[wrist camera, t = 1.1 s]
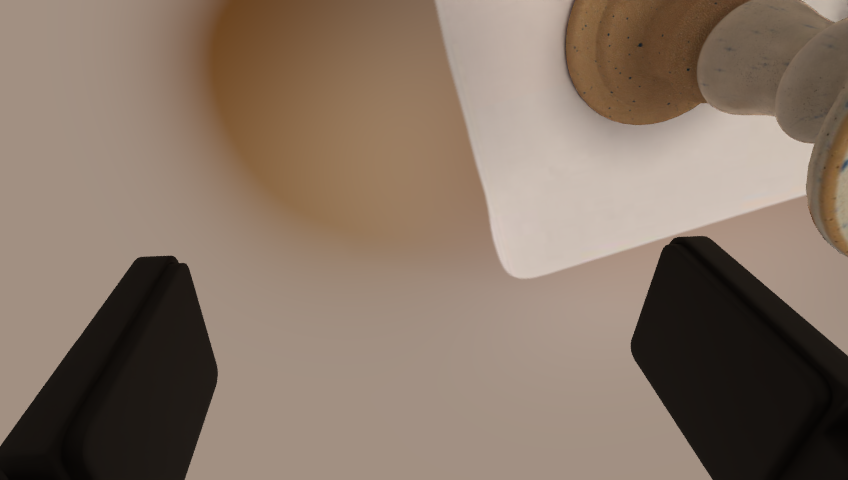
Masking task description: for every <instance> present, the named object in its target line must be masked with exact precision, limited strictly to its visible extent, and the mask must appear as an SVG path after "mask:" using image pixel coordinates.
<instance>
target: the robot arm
mask: <svg viewBox="0 0 848 480" xmlns="http://www.w3.org/2000/svg"><path fill="white" fill-rule="evenodd" d="M631 352H632V355H633V357H634V359H635V361H636V362H637V364H638V365H639V367H640V369H641V370H642V372H643V373H644V375H645V376H646V378H647V379H648V381H649V382H650V384H651V386H652V387H653V389H654V390H655V392H656V393H657V395H658V396H659V398H660V399H661V401H662V403H663V404H664V406H665V407H666V409H667V410H668V412H669V413H670V415H671V416H672V418H673V419H674V421H675V422H676V424H677V426H678V427H679V429H680V430H681V432H682V433H683V435H684V436H685V438H686V439H687V441H688V443H689V444H690V445H691V447H692V449H693V450H694V452H695V453H696V455H697V456H698V458H699V459H700V461H701V463H702V464H703V466H704V467H705V469H706V470H707V472H708V473H709V475H710V476H711V478H712V479H713V480H848V356H847V355H846V354H845V353H844V352H842V351H841V350H840V349H839V348H838V347H837V346H835V345H834V344H833V343H832V342H831V341H829V340H828V339H827V338H826V337H825V336H824V335H823V334H821V333H820V332H819V331H818V330H817V329H815V328H814V327H813V326H812V325H811V324H810V323H808V322H807V321H806V320H805V319H804V318H803V317H801V316H800V315H799V314H798V313H796V311H794V310H793V309H792V308H791V307H789V305H787V304H786V303H785V302H784V301H783V300H782V299H780V298H779V297H778V296H777V295H776V294H775V293H773V292H772V291H771V290H770V289H769V288H768V287H766V286H765V285H764V284H763V283H762V282H760V281H759V280H758V279H757V278H756V277H755V276H753V275H752V274H751V273H750V272H749V271H748V270H746V269H745V268H744V267H743V266H742V265H741V264H739V263H738V262H737V261H736V260H735V259H734V258H732V257H731V256H730V255H729V254H728V253H726V252H725V251H724V250H723V249H721V247H719V246H718V245H717V244H716V243H715V242H714V241H712V240H711V239H710V238H708V237H705V236H693V237H677V238H674V239H673V240H672V241H671V242H670V244H669V245H666V246H665V247H664V248H663V250H662V252H661V255H660V258H659V261H658V264H657V267H656V270H655V273H654V276H653V279H652V282H651V285H650V288H649V290H648V294H647V297H646V299H645V302H644V305H643V308H642V311H641V314H640V317H639V320H638V323H637V326H636V329H635V331H634V334H633V337H632V340H631ZM217 376H218V371H217V364H216V361H215V358H214V354H213V351H212V347H211V343H210V340H209V337H208V333H207V330H206V326H205V322H204V319H203V315H202V312H201V309H200V305H199V302H198V298H197V295H196V291H195V288H194V284H193V281H192V277H191V274H190V270H189V268H188V266H187V264H185V263H178V260H177V259H176V258H175V257H174V256H156V257H155V256H154V257H140V258H137V259H136V260H135V261H134V262H133V264H132V265H131V267H130V268H129V269H128V271H127V272H126V274H125V275H124V276H123V278H122V279H121V280H120V282H119V283H118V285H117V286H116V287H115V289H114V290H113V292H112V293H111V294H110V296H109V297H108V299H107V300H106V301H105V303H104V304H103V306H102V307H101V308H100V310H99V311H98V312H97V314H96V315H95V317H94V318H93V319H92V321H91V322H90V323H89V325H88V326H87V328H86V329H85V330H84V332H83V333H82V335H81V336H80V337H79V339H78V340H77V341H76V342H75V344H74V345H73V346H72V348H71V349H70V351H69V352H68V353H67V355H66V356H65V358H64V359H63V360H62V362H61V363H60V364H59V366H58V367H57V369H56V370H55V371H54V373H53V374H52V375H51V377H50V378H49V380H48V381H47V382H46V384H45V385H44V386H43V388H42V389H41V391H40V392H39V394H38V395H37V396H36V398H35V399H34V401H33V402H32V403H31V404H30V406H29V407H28V409H27V410H26V411H25V413H24V414H23V415H22V417H21V418H20V420H19V421H18V422H17V424H16V425H15V427H14V428H13V430H12V431H11V432H10V434H9V435H8V436H7V438H6V439H5V440H4V442H3V443H2V445H1V446H0V480H185V477H186V473H187V471H188V468H189V465H190V462H191V459H192V456H193V453H194V450H195V447H196V444H197V441H198V438H199V435H200V432H201V429H202V426H203V423H204V420H205V417H206V414H207V411H208V408H209V405H210V402H211V399H212V396H213V393H214V390H215V387H216V384H217Z"/></svg>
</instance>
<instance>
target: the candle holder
mask: <svg viewBox="0 0 848 480" xmlns="http://www.w3.org/2000/svg"><path fill="white" fill-rule="evenodd" d="M566 58H567V63H568V69H569V73H570V76H571V78H572V81H573V84H574V86H575V88H576V89H577V91H578V93H579V95H580V96H581V97H582V98H583V100H584V101H585V102H586V103H587V104H588V105H589V106H590V107H591V108H592V109H593V110H595V111H596V112H597V113H599V114H600V115H602V116H604V117H606V118H608V119H610V120H613V121H616V122H620V123H623V124H632V125H644V124H654V123H658V122H663V121H666V120H669V119H672V118H675V117H677V116H679V115H681V114H683V113H685V112H687V111H689V110H691V109H693V108H694V107H696V106H697V105H699V104H700V103H709V104H710V105H711V106H712V107H714V108H716V109H718V110H719V111H722V112H725V113H728V114H734V115H768V116H775V117H776V119H777V122H778V124H779V126H780V127H781V129H782V130H783V131H784V132H785V133H786V134H787V135H788V136H790V137H791V138H793V139H795V140H798V141H801V142H804V143H814V147H813V151H812V154H811V158H810V162H809V165H808V174H807V183H806V192H807V203H808V208H809V210H810V214H811V217H812V220H813V222H814V224H815V226H816V228H817V229H818V230H819V232H820V233H821V235H822V236H823V238H824V239H825V240H826V241H827V242H828V243H829V244H830V245H831V246H832V247H833V248H835V249H836V250H837V251H838V252H839V253H841V254H843V255H845V256H847V257H848V17H847V18H845V19H842V20H839V21H837V22H835V23H834V22H832V21H830V20H828V19H827V18H825V17H823V16H822V15H820V14H819V13H818V12H817V11H816V10H814V9H813V8H812V7H810V6H809V5H808V4H806V3H805V2H803V1H802V0H575V3H574V5H573V8H572V11H571V15H570V19H569V23H568V28H567V36H566Z"/></svg>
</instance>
